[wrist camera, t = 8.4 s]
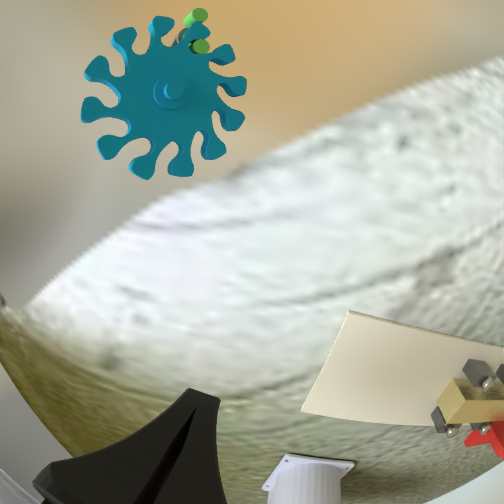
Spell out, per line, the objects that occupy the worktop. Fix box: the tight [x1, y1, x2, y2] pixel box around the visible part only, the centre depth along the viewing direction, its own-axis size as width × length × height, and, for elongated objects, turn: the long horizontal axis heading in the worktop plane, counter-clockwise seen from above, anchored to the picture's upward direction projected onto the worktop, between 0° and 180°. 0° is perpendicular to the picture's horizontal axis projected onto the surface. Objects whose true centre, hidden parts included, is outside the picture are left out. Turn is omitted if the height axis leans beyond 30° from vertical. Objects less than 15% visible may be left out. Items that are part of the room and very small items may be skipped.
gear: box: [81, 8, 247, 180], centre depth 15 cm, size 11×6×10 cm
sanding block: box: [436, 378, 504, 424], centre depth 17 cm, size 3×10×3 cm, turn 76°
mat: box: [301, 310, 504, 426], centre depth 19 cm, size 10×23×1 cm, turn 76°
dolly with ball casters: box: [430, 359, 504, 438], centre depth 16 cm, size 7×8×3 cm
